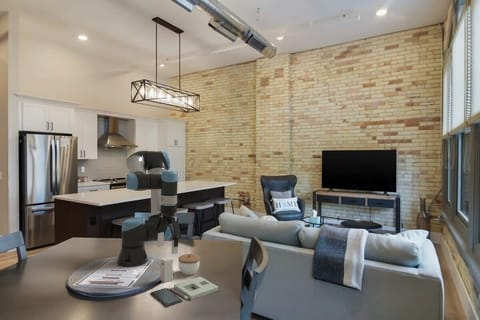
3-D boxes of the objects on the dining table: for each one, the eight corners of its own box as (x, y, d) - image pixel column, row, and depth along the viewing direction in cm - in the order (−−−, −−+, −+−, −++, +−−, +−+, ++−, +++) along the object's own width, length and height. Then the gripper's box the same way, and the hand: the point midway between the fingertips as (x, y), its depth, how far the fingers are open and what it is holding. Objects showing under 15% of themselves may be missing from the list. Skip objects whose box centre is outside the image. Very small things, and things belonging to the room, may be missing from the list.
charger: (160, 280, 137) (160, 258, 137) (167, 277, 140) (168, 256, 140) (164, 283, 134) (164, 261, 134) (172, 280, 137) (172, 259, 137)
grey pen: (167, 289, 128) (167, 287, 128) (169, 288, 129) (169, 286, 129) (186, 299, 119) (186, 297, 119) (188, 298, 120) (188, 296, 120)
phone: (150, 295, 123) (150, 292, 123) (165, 290, 128) (165, 287, 128) (166, 308, 113) (166, 305, 113) (182, 303, 118) (182, 300, 118)
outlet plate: (174, 287, 130) (174, 284, 130) (200, 279, 139) (200, 276, 139) (191, 300, 119) (191, 296, 119) (218, 290, 129) (218, 286, 129)
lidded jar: (178, 278, 140) (179, 258, 140) (177, 269, 150) (177, 251, 150) (201, 276, 143) (201, 257, 143) (198, 268, 153) (198, 250, 153)
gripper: (149, 201, 143) (147, 244, 143) (175, 209, 125) (173, 258, 125) (163, 200, 148) (161, 242, 148) (190, 207, 130) (188, 255, 130)
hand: (167, 249), depth 137 cm, fingers open, 13 cm apart
